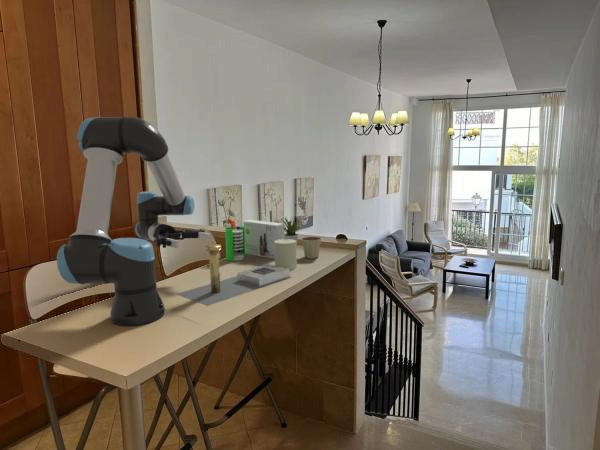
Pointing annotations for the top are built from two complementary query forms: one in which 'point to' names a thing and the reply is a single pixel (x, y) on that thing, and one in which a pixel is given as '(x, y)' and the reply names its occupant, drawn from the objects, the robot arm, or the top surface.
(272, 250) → the skincare box
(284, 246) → the can
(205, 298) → the mat
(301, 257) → the top surface
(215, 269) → the pin
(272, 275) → the grey flat rectangular block
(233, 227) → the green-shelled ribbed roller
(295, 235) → the house plant
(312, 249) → the flower pot
